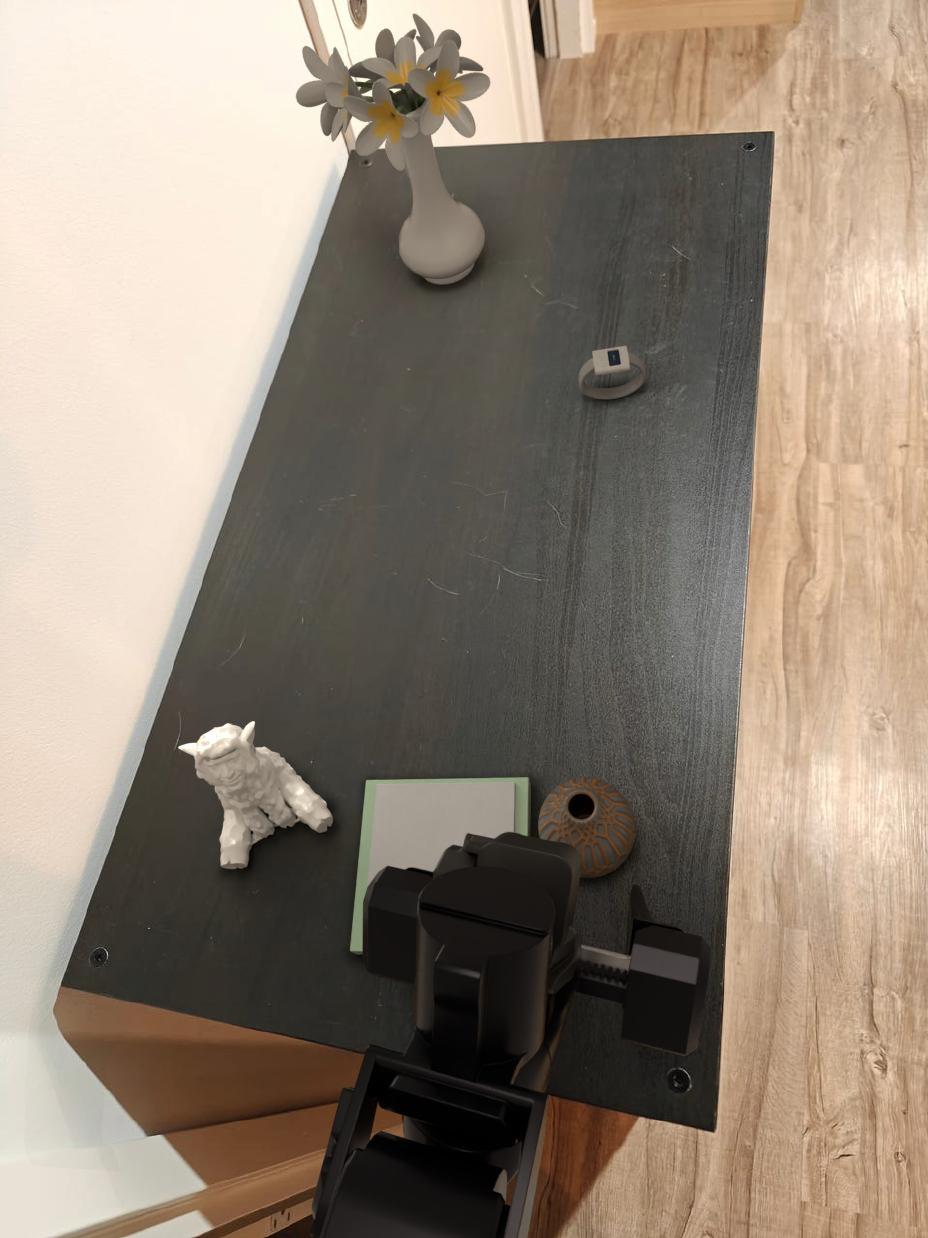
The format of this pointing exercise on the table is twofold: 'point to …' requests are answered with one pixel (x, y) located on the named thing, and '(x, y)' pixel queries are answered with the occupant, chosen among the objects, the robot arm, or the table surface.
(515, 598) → the table surface
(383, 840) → the scale
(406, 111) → the flower vase
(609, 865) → the vase
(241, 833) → the sitting furry creature
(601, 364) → the wristwatch
